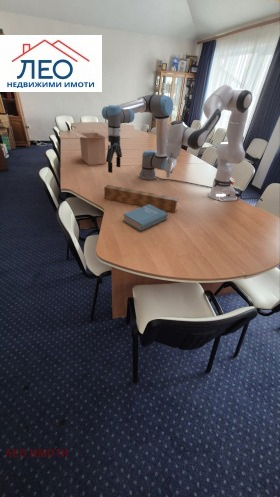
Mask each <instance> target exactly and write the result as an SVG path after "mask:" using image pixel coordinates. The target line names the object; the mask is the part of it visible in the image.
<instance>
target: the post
mask: <svg viewBox="0 0 280 497" xmlns="http://www.w3.org/2000/svg"><path fill="white" fill-rule="evenodd" d="M103 190H104V194H103V195H104V196H103V197H104V199H105V200H109V201H114V202H120V203H124V204H128V205H134V206H139V207H143V206H146V205H148V204H150V205H152V206H154V207H156V208H158V209H160V210H162V211H164V212H167V213H168V212H169V213H174V214H175V213H176V212H177V208H178V201H179V197H176V196H175V197H174V196H170V195H164V194H159V193H154V192H149V191H143V190H137V189H131V188H127V187H122V186H116V185H112V184H111V185H110V184H106V185H105V186H103Z"/></svg>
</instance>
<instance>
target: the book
mask: <svg viewBox="0 0 280 497" xmlns="http://www.w3.org/2000/svg"><path fill="white" fill-rule="evenodd" d="M167 219H168V212H167V211H163V210H160V209H158V208H156V207H154V206H152V205H150V204H148V205H146V206H139V207H138V208H135V209H132V210H130V211H127V212H125V213H123V220H122V221H123V222H124V223H126V224H128V225H129V226H130V227H132V228H134V229H135V230H138V231H139V232H142V231H144V230H147V229H148V228H151V227H152V226H155V225H157V224H159V223H161V222H164V221H166V220H167Z"/></svg>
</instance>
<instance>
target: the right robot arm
mask: <svg viewBox="0 0 280 497" xmlns="http://www.w3.org/2000/svg"><path fill="white" fill-rule="evenodd" d="M252 102H253V94H252V92H251V91H250V90H247V89H241V88H235V89H234V88H232V86H231V85H229V84H227V83H225V84H222V85H221V86H219V87H218V88H217V89H216V90H214V91H213V92H212V93H211V95H210V96H209V97H208V98H207V99H206V100H205V102H204V103H203V107H202V111H203V114H204V116H205V117H206V121H205V122H204V123H203V124H202V125H201V127H200V128H192V127H189V126H188V125H186V124H185V122H184V121H183V120H173V121H171V122H170V123H169V125H168V128H167V144H166V151H165V155H167V159H166V163H165V171H164V172H165V173H166V176H165V177H166V179H169V178H170V177H171V174H173V173H174V169H175V166H176V165H177V163H178V159H179V157H180V156H181V149H182V145H183V146H185V147H188V148H190V149H192V150H195V151H197V150H199V149H201V148H202V147H203V146H204V145H205V143H206V142H207V141H206V140H207V139H208V137H209V135H210V134H211V133H212V131H213V130H214V129H215V127H216V125H217V124H218V123H219V121H220V119H221V117H222V112H223V111H224V110H225V111H229V112H230V115H229V117H228V123H227V127H226V132H225V137H226V140H227V142H221V143H219V144H218V145H217V146H216V149H215V154H216V156H217V169H216V173H215V177H214V179H213V181H212V186H211V187H212V188H210V191H209V193H208V197H209V198H210V199H212V200H215V201H219V202H232V201H233V202H234V201H238V197H239V198H240V200H242V201H243V200H251V199H252V200H253V199H254V200H256V199H257V200H260V201H261V202H263V199H262V198H261V197H254V196H251V197H244V198H243V197H242V196H243V195H242V194H241V193H239V191H236V190H235V188H234V187H233V185H234V184H235V182H234V181H232V180H231V178H232V174H233V171H234V169H233V167H232V166H233V165H232V164H236V165H238V164H240V163H242V162H243V161H244V159H245V157H246V152H245V148H244V132H245V128H246V124H247V120H248V115H249V108H250V107H251V105H252Z"/></svg>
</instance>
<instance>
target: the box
mask: <svg viewBox="0 0 280 497" xmlns="http://www.w3.org/2000/svg"><path fill="white" fill-rule="evenodd" d="M70 133H71V134H72V135H74V136H75V137H77V138H79V144H80V153H81V160H83V162H85V163H86V165H87V166H95V165H97V166H98V165H106V163H107V162H106V158H107V156H106V138H108V135H109V134H108V132H105V131H98V132H96V131H95V130H92V129H91V130H77V132H76V131H70Z"/></svg>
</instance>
